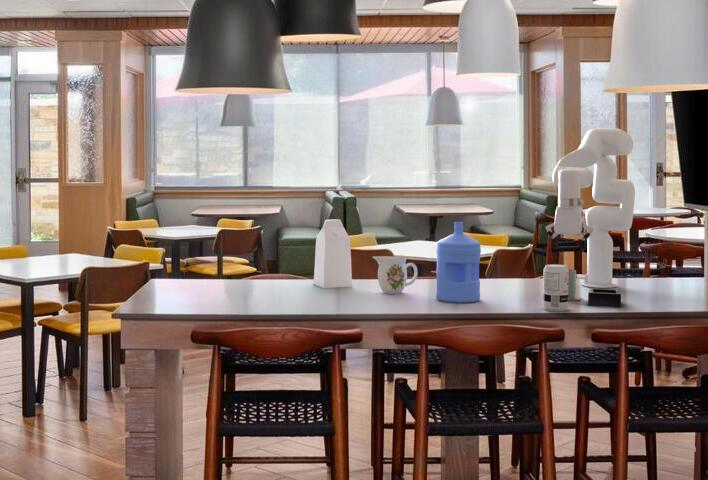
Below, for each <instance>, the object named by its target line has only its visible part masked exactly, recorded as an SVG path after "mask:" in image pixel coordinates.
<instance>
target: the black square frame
mask: <svg viewBox="0 0 708 480" xmlns="http://www.w3.org/2000/svg"><path fill="white" fill-rule="evenodd" d="M587 291H588V292H587V306H588V307H604V308H622V290H621V289H614V288H594V287H588V290H587Z"/></svg>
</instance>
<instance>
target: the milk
mask: <svg viewBox="0 0 708 480" xmlns="http://www.w3.org/2000/svg"><path fill="white" fill-rule="evenodd" d="M351 248H352V247H351V238H350V236H349V234H348V232H347V231H346V229H345V227H344V224H343V222H342V220H341V219H325V220H324V221H323V225H322V227H321V229H320V231H319V232H318V234H317V236H316V239H315V251H314V252H315V253H314V271H313V285H315V286H317V287H319V288H321V289H335V288H352V287H353V275H352V274H353V271H352V269H353V268H352V251H351V250H352V249H351Z"/></svg>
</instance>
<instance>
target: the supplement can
mask: <svg viewBox="0 0 708 480" xmlns="http://www.w3.org/2000/svg"><path fill="white" fill-rule="evenodd" d="M568 269H569V268H568V265H566V264H557V263H554V264H553V263H552V264H545V266H544V268H543V272H542V273H543V277H542V308H544V310H545V311H548V312H565V311H567V310H568V309H569V301H568V287H569V270H568Z"/></svg>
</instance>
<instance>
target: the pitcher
mask: <svg viewBox="0 0 708 480" xmlns="http://www.w3.org/2000/svg"><path fill="white" fill-rule="evenodd" d="M372 259H374V260H375V261H376V262H377V264H378V267H377V268H378V269H377V281H378V285H379V288H380V290H381V291H382V292H383V294H387V295H398V294H402V293H403V291H404V289H405V288H406V287H408V286H411V285H413V284H414V283H415V282H416V280H417V278H418V273H419V272H418V267H417V265H416V264H415V263H414V262H408V263H407V257H405V256H396V255H395V256H394V255H391V256H390V255H389V256H388V255H386V256H385V255H380V256H377V255H375V256H372ZM409 267H412V268H413V272H414V274H413V276H412V278H411V279H410V280H409V281H407V280H408V279H407V278H408V270H407V268H409Z"/></svg>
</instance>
